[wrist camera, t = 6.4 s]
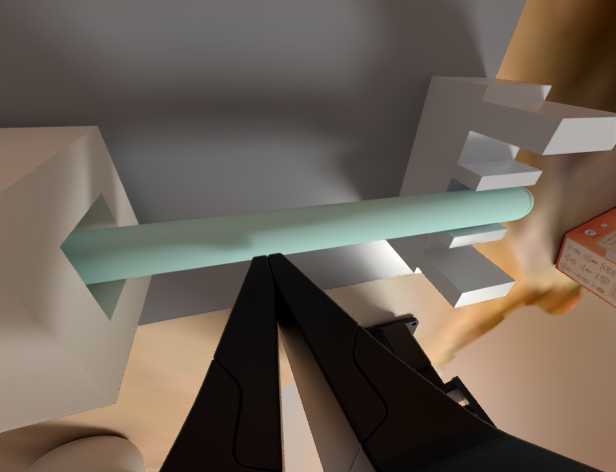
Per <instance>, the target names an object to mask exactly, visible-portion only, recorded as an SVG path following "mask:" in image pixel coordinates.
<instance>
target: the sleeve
mask: <svg viewBox="0 0 616 472" xmlns="http://www.w3.org/2000/svg"><path fill="white" fill-rule="evenodd" d="M131 225H139V224H138V221H137V219H136V217H135V214H134V212H133V209H132V207H131V205H130V202H129V200H128V197H127V195H126V193H125V190H124V188H123V185H122V183H121V181H120V178H119V176H118V174H117V171H116V169H115V166H114V164H113V162H112V159H111V157H110V154H109V152H108V150H107V147H106V145H105V142H104V140H103V138H102V135H101V133H100V131H99V128H98V126H69V127H28V128H0V433H1V432H5V431H9V430H13V429H17V428H21V427H24V426H28V425H32V424H36V423H40V422H44V421H48V420H52V419H56V418H60V417H64V416H68V415H72V414H76V413H80V412H84V411H88V410H92V409H96V408H100V407H104V406H108V405H112V404H116V400H117V397H118V393H119V390H120V386H121V382H122V379H123V375H124V372H125V368H126V365H127V361H128V358H129V354H130V351H131V347H132V344H133V340H134V337H135V333H136V330H137V326H138V322H139V319H140V315H141V312H142V308H143V305H144V301H145V298H146V294H147V291H148V287H149V284H150V280H151V277H152V275H147V276H140V277H133V278H127V279H120V280H114V281H107V282H100V283H94V284H87V285H85V284H84V282H83V281H82V279H81V278H80V276H79V275H78V273H77V272H76V270H75V269H74V267H73V266H72V265H71V263H70V262H69V260H68V259H67V257H66V256H65V254H64V253H63V251H62V250H61V248H60V246H61V244H62V243H63V242H64V241H65V239H66V238H67V237H68V235H69V234H70V233H71V232H75V231H85V230H94V229H103V228H113V227H122V226H131Z"/></svg>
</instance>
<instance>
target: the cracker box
mask: <svg viewBox="0 0 616 472" xmlns="http://www.w3.org/2000/svg"><path fill="white" fill-rule="evenodd" d="M555 268H556V269H558V270H559V271H561V272H562V273H564V274H565V275H566V276H568V277H569V278H571V279H572V280H574V281H575V282H577V283H578V284H580V285H582V286H583V287H584V288H586V289H587V290H589V291H590V292H592V293H594V294H595V295H597V296H598V297H599V298H601V299H602V300H604V301H605V302H607V303H609V304H610V305H611V306H613V307H614V308H616V208H614V209H612V210H610V211H608V212H607V213H605V214H603V215H601V216H599V217H597V218H595V219H593V220H591V221H589V222H587V223H585V224H583V225H581V226H579V227H577V228H575V229H573V230H571V231H569V232H568V233H566V234H565V237H564V240H563V243H562V246H561V250H560V253H559V256H558V259H557V262H556V266H555Z"/></svg>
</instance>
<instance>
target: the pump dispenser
mask: <svg viewBox="0 0 616 472" xmlns="http://www.w3.org/2000/svg"><path fill="white" fill-rule="evenodd" d="M24 472H145V464H144V460H143V457H142V454H141V452H140V451H139V449H138V448H137V447H136V446H135V445H134V444H133V443H132V442H130V441H128V440H126V439H123V438H120V437H116V436H92V437H86V438H82V439H78V440H74V441H72V442H69V443H66V444H64V445H62V446H60V447H57V448H55V449H54V450H52V451H50V452H48V453H47V454H45V455H44V456H42V457H41V458H39V459H38V460H37V461H35V462H34V463H33V464H32V465H30V466H29V467H28V468H27V469H26V470H25V471H24Z"/></svg>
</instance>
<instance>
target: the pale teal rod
mask: <svg viewBox="0 0 616 472" xmlns="http://www.w3.org/2000/svg"><path fill="white" fill-rule="evenodd" d="M533 204H534V198H533V195H532V193H531V192H530V191H529V190H528V189H527V188H525V187H523V186H519V187H510V188H501V189H492V190H483V191H474V190H472V189H466V190H457V191H448V192H438V193H429V194H420V195H410V196H401V197H392V198H382V199H373V200H364V201H355V202H345V203H336V204H327V205H317V206H308V207H299V208H289V209H280V210H271V211H262V212H252V213H243V214H234V215H224V216H215V217H206V218H196V219H187V220H178V221H168V222H159V223H150V224H141V225H131V226H122V227H113V228H103V229H94V230H85V231H75V232H71V233H70V234H69V235H68V237H67V238H66V239H65V241H64V242H63V243H62V244H61V246H60V248H61V250H62V251H63V253H64V254H65V256H66V257H67V259H68V260H69V262H70V263H71V265H72V266H73V267H74V269H75V270H76V272H77V273H78V275H79V276H80V278H81V279H82V281H83V282H84V284H85V285H87V284H94V283H100V282H107V281H114V280H120V279H127V278H133V277H140V276H147V275H153V274H160V273H167V272H173V271H180V270H186V269H193V268H200V267H206V266H213V265H220V264H226V263H233V262H240V261H246V260H252V258H253V257H255V256H261V255H266V256H267V257H268V255H269V254H274V253H282V254H283V255H286V254H293V253H299V252H306V251H313V250H319V249H326V248H332V247H339V246H346V245H352V244H359V243H366V242H372V241H379V240H385V239H392V238H399V237H405V236H412V235H419V234H425V233H432V232H439V231H445V230H452V229H458V228H465V227H472V226H478V225H485V224H492V223H498V222H505V221H512V220H517V219H520V218H522V217H524V216H526V215H527V214H528V213H529V212H530V211H531V209H532V207H533Z"/></svg>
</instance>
